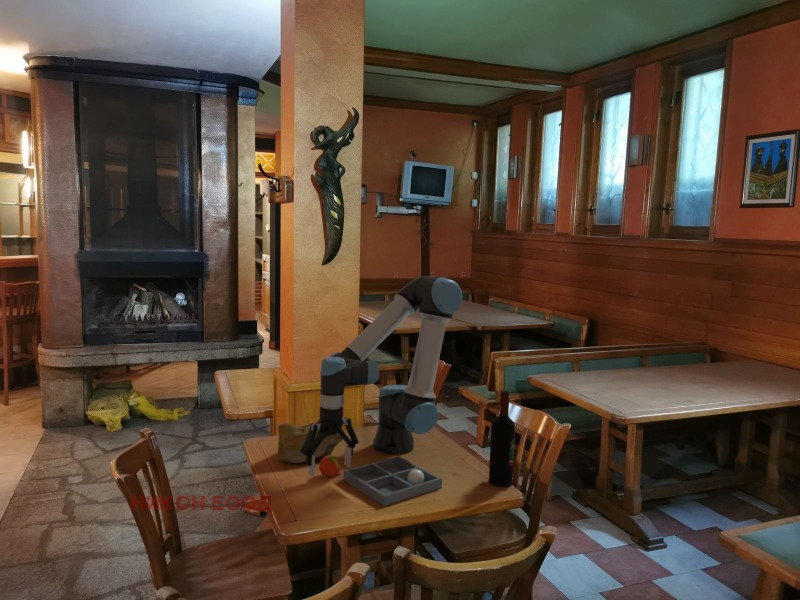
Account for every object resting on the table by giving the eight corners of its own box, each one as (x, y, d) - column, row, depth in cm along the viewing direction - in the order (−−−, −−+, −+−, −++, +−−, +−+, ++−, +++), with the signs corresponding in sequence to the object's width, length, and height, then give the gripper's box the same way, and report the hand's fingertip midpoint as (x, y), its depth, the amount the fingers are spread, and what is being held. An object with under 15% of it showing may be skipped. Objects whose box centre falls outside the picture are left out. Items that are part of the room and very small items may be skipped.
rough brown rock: (331, 445, 224) (329, 405, 223) (347, 457, 209) (345, 414, 208) (269, 455, 213) (267, 414, 213) (281, 469, 199) (279, 424, 198)
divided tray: (398, 467, 202) (398, 456, 202) (441, 490, 185) (442, 478, 185) (343, 482, 189) (343, 470, 188) (384, 509, 172) (384, 496, 171)
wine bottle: (487, 477, 196) (491, 388, 193) (510, 478, 196) (515, 389, 193) (490, 487, 189) (494, 394, 185) (514, 487, 189) (519, 395, 185)
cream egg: (416, 480, 190) (417, 465, 189) (427, 486, 185) (428, 470, 185) (403, 484, 186) (404, 468, 186) (414, 490, 182) (414, 474, 182)
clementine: (346, 478, 192) (347, 457, 191) (328, 484, 188) (329, 462, 187) (332, 470, 198) (332, 450, 197) (314, 475, 194) (315, 454, 193)
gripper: (357, 398, 201) (355, 458, 203) (290, 408, 185) (289, 474, 188) (370, 403, 195) (368, 466, 197) (302, 415, 180) (300, 482, 182)
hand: (329, 470), depth 192 cm, fingers open, 13 cm apart
